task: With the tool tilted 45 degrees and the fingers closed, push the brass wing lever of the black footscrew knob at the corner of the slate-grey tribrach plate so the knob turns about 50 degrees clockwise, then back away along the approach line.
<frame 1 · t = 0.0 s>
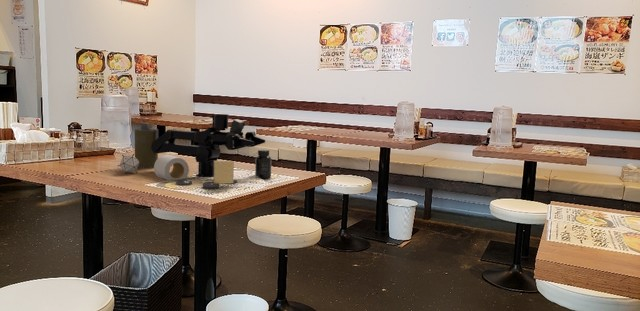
hand: (259, 142, 198), 17 cm above the table, tool horizontal, fingers open, 9 cm apart
supplement bottle: (262, 178, 211), on the table
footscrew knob: (218, 174, 179), point 6 cm above the table, hinge at 0.0°
game die: (129, 173, 208), on the table
toilet paper: (171, 181, 195), on the table
canister: (146, 167, 226), on the table
tribrach plate: (206, 186, 186), on the table
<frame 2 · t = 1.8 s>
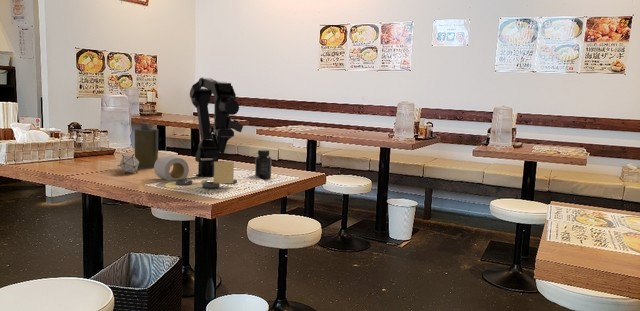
hand: (221, 152, 195), 12 cm above the table, tool pointing down, fingers open, 5 cm apart
nothing on the table moved.
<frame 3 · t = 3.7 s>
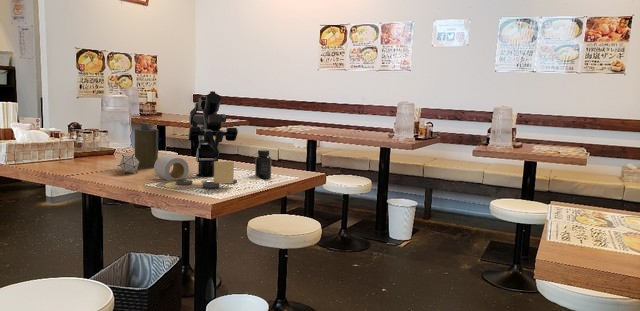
hand: (215, 150, 190), 13 cm above the table, tool tilted 45°, fingers closed
nothing on the table moved.
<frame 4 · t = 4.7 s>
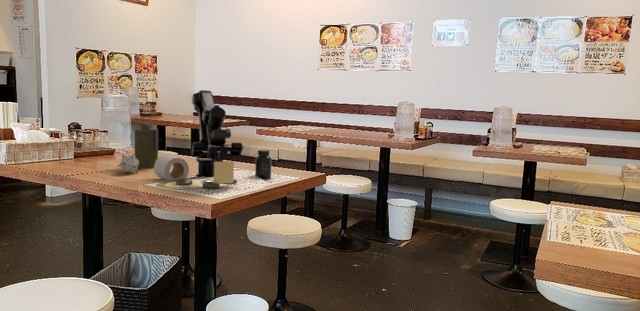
hand: (220, 167, 183), 8 cm above the table, tool tilted 45°, fingers closed
nothing on the table moved.
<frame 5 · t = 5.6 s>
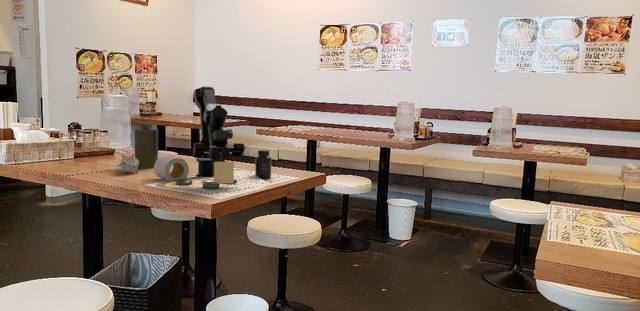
hand: (221, 168, 180), 8 cm above the table, tool tilted 45°, fingers closed, pressing on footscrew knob
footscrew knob: (218, 174, 179), point 6 cm above the table, hinge at -1.4°, touching gripper
everything else where it was.
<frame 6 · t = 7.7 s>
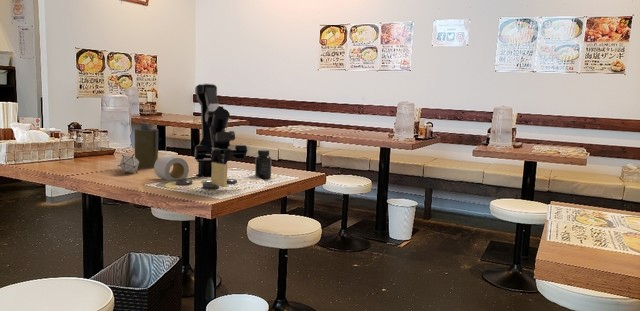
hand: (224, 170, 177), 8 cm above the table, tool tilted 45°, fingers closed
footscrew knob: (215, 175, 176), point 6 cm above the table, hinge at -62.6°
everything else where it was.
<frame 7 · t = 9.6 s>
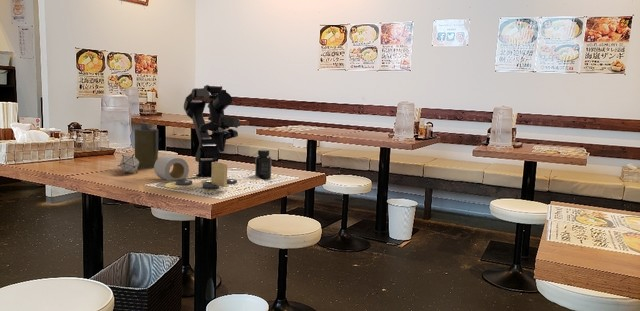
hand: (222, 151, 194), 13 cm above the table, tool tilted 25°, fingers closed
nothing on the table moved.
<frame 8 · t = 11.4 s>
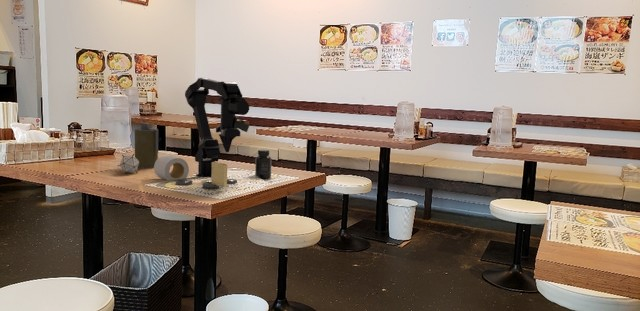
hand: (227, 152, 198), 12 cm above the table, tool pointing down, fingers closed
nothing on the table moved.
at the end: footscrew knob at -63° (first picture: +0°) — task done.
